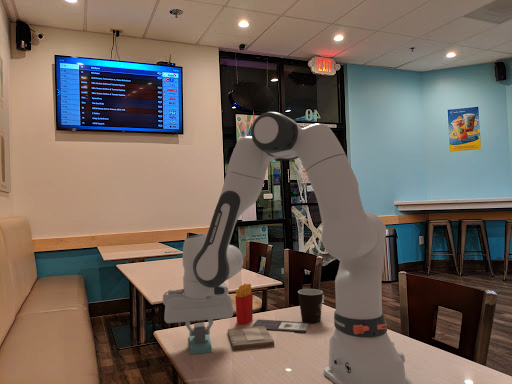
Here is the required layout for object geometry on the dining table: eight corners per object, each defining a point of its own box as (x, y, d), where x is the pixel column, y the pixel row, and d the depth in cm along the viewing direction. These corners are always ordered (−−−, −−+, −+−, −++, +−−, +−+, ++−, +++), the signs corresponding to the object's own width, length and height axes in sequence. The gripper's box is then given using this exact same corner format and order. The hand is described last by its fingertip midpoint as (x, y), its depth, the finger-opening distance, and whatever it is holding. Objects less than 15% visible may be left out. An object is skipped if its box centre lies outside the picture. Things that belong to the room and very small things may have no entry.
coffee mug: (313, 326, 126) (312, 296, 126) (293, 320, 133) (292, 292, 133) (334, 318, 134) (333, 290, 134) (314, 313, 141) (314, 286, 141)
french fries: (244, 317, 138) (243, 281, 138) (255, 318, 136) (254, 282, 136) (233, 325, 130) (232, 287, 130) (244, 327, 128) (243, 288, 128)
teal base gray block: (211, 352, 107) (211, 333, 107) (190, 354, 106) (189, 335, 106) (208, 334, 121) (208, 318, 121) (189, 336, 120) (189, 319, 120)
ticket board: (274, 346, 110) (274, 340, 110) (233, 350, 108) (233, 344, 108) (264, 330, 124) (264, 325, 124) (227, 333, 122) (227, 328, 122)
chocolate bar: (257, 319, 134) (309, 322, 129) (257, 322, 134) (309, 325, 129) (250, 327, 125) (305, 331, 120) (250, 330, 125) (305, 334, 120)
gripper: (162, 293, 109) (163, 342, 108) (233, 288, 112) (234, 335, 112) (163, 288, 115) (164, 334, 115) (230, 283, 119) (232, 328, 118)
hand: (199, 334), depth 113 cm, fingers closed on teal base gray block, 3 cm apart
